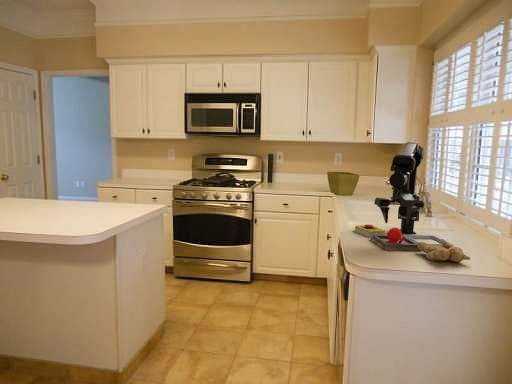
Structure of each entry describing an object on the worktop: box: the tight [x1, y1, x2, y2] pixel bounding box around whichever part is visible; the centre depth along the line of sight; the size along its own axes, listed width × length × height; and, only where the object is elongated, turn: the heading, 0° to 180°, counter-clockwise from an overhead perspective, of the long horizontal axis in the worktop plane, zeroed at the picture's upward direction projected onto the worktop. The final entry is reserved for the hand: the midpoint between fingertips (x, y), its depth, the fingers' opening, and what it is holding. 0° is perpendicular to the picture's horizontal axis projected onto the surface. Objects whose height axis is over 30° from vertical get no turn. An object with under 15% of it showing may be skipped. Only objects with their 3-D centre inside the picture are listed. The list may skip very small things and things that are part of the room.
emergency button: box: [352, 223, 386, 238], centre depth 172 cm, size 9×4×15 cm
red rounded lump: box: [386, 227, 403, 244], centre depth 154 cm, size 8×6×6 cm
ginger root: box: [417, 238, 471, 263], centre depth 138 cm, size 16×16×8 cm
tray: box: [402, 234, 455, 247], centre depth 162 cm, size 15×15×2 cm
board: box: [369, 234, 422, 252], centre depth 155 cm, size 15×15×2 cm
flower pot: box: [326, 171, 361, 196], centre depth 297 cm, size 19×19×17 cm
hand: (397, 223), depth 153 cm, fingers open, 9 cm apart
